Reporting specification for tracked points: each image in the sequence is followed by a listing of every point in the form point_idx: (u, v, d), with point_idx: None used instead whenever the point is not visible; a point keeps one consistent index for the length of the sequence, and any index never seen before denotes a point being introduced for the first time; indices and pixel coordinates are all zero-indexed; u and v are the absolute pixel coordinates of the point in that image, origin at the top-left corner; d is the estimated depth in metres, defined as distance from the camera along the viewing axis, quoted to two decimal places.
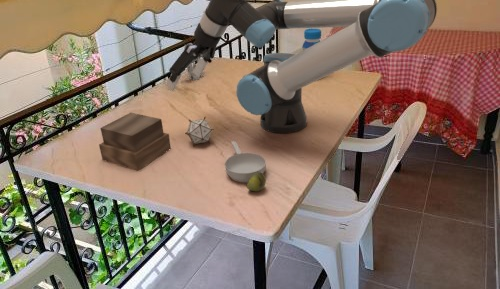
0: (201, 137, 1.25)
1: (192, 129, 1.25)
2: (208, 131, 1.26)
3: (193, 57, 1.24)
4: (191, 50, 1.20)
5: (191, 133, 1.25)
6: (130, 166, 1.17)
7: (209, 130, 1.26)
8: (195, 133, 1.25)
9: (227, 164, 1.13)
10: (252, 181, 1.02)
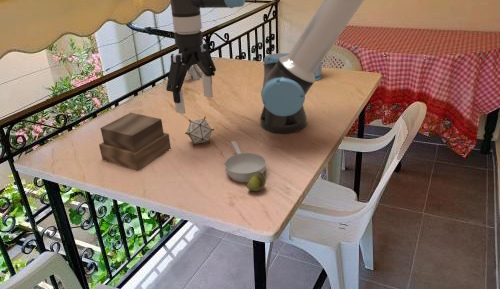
0: (201, 137, 1.25)
1: (192, 129, 1.25)
2: (208, 131, 1.26)
3: (185, 67, 1.14)
4: (176, 57, 1.11)
5: (191, 133, 1.25)
6: (130, 166, 1.17)
7: (209, 130, 1.26)
8: (195, 133, 1.25)
9: (227, 164, 1.13)
10: (252, 181, 1.02)
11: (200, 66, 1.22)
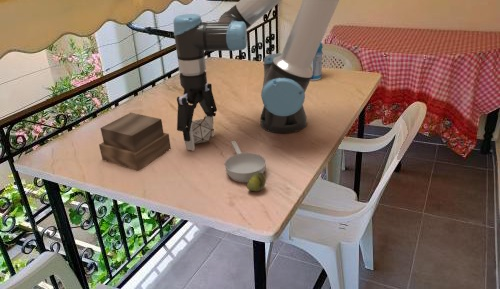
0: (201, 137, 1.25)
1: (192, 129, 1.25)
2: (208, 131, 1.26)
3: (191, 107, 1.20)
4: (182, 100, 1.16)
5: None
6: (130, 166, 1.17)
7: (209, 130, 1.26)
8: (195, 133, 1.25)
9: (227, 164, 1.13)
10: (252, 181, 1.02)
11: (202, 105, 1.27)
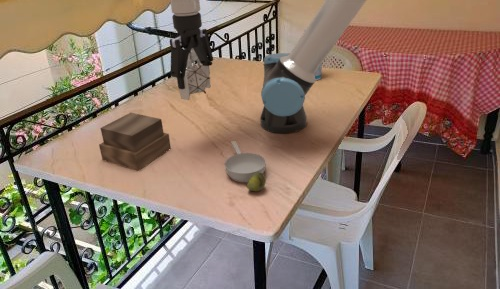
0: (196, 85, 1.17)
1: (187, 77, 1.17)
2: (204, 79, 1.18)
3: (185, 51, 1.13)
4: (175, 42, 1.09)
5: None
6: (130, 166, 1.17)
7: (205, 78, 1.19)
8: (190, 81, 1.17)
9: (227, 164, 1.13)
10: (252, 181, 1.02)
11: (198, 53, 1.20)
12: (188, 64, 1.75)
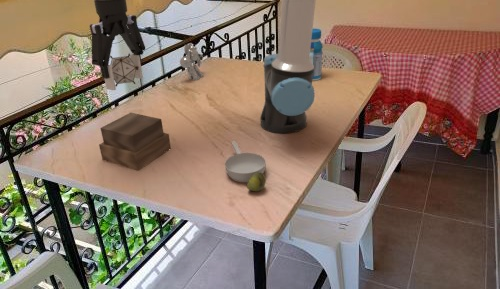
0: (122, 75, 1.10)
1: (113, 66, 1.10)
2: (131, 69, 1.11)
3: (109, 38, 1.06)
4: (95, 27, 1.02)
5: None
6: (130, 166, 1.17)
7: (133, 68, 1.11)
8: (116, 70, 1.10)
9: (227, 164, 1.13)
10: (252, 181, 1.02)
11: (126, 41, 1.13)
12: (188, 64, 1.75)
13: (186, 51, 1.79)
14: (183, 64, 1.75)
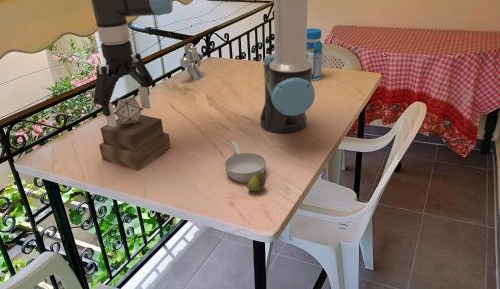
0: (128, 117, 1.15)
1: (119, 108, 1.15)
2: (137, 110, 1.16)
3: (113, 78, 1.10)
4: (101, 69, 1.06)
5: (117, 112, 1.15)
6: (130, 166, 1.17)
7: (138, 109, 1.17)
8: (122, 112, 1.15)
9: (227, 164, 1.13)
10: (252, 181, 1.02)
11: (134, 77, 1.18)
12: (188, 64, 1.75)
13: (186, 51, 1.79)
14: (183, 64, 1.75)
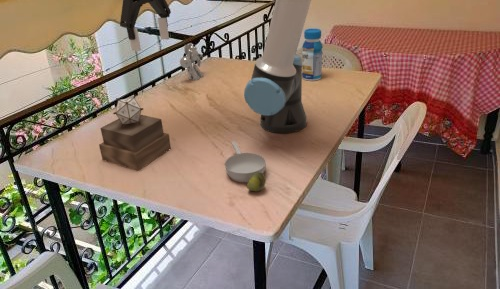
0: (128, 117, 1.15)
1: (119, 108, 1.15)
2: (137, 110, 1.16)
3: (137, 3, 1.18)
4: None
5: (117, 112, 1.15)
6: (130, 166, 1.17)
7: (138, 109, 1.17)
8: (122, 112, 1.15)
9: (227, 164, 1.13)
10: (252, 181, 1.02)
11: (154, 7, 1.26)
12: (188, 64, 1.75)
13: (186, 51, 1.79)
14: (183, 64, 1.75)
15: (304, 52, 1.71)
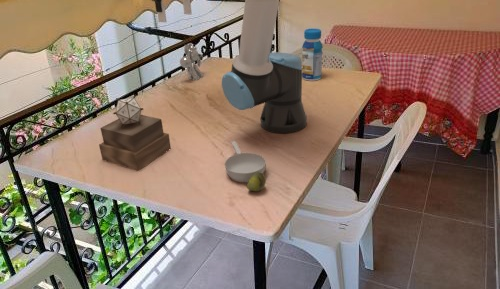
0: (128, 117, 1.15)
1: (119, 108, 1.15)
2: (137, 110, 1.16)
3: None
4: None
5: (117, 112, 1.15)
6: (130, 166, 1.17)
7: (138, 109, 1.17)
8: (122, 112, 1.15)
9: (227, 164, 1.13)
10: (252, 181, 1.02)
11: None
12: (188, 64, 1.75)
13: (186, 51, 1.79)
14: (183, 64, 1.75)
15: (304, 52, 1.71)
